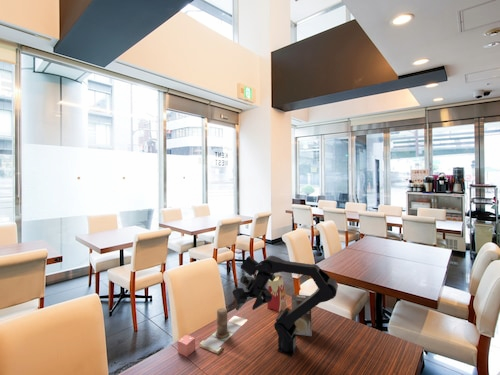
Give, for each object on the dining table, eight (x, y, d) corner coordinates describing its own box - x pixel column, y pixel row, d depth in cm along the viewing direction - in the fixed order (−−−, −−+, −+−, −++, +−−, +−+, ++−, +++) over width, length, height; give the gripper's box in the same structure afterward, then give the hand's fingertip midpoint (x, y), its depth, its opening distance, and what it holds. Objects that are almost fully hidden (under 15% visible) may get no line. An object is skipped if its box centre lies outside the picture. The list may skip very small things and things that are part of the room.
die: (195, 349, 108) (195, 337, 107) (186, 356, 103) (186, 344, 103) (186, 345, 110) (186, 334, 110) (177, 352, 106) (177, 340, 106)
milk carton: (287, 307, 142) (287, 271, 141) (279, 314, 134) (279, 277, 134) (272, 302, 147) (272, 268, 146) (264, 309, 139) (264, 273, 138)
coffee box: (311, 328, 122) (311, 295, 121) (311, 336, 116) (311, 302, 115) (292, 326, 124) (292, 293, 123) (291, 334, 118) (291, 299, 117)
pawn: (229, 330, 118) (229, 307, 118) (227, 339, 112) (227, 314, 112) (217, 330, 119) (216, 307, 118) (214, 338, 113) (214, 314, 112)
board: (250, 322, 127) (250, 320, 127) (217, 354, 105) (217, 351, 105) (233, 317, 132) (233, 314, 132) (199, 346, 110) (199, 343, 110)
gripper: (266, 270, 123) (252, 295, 127) (235, 268, 112) (220, 296, 116) (279, 287, 114) (263, 314, 118) (246, 286, 104) (230, 316, 107)
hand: (244, 309), depth 115 cm, fingers open, 9 cm apart
